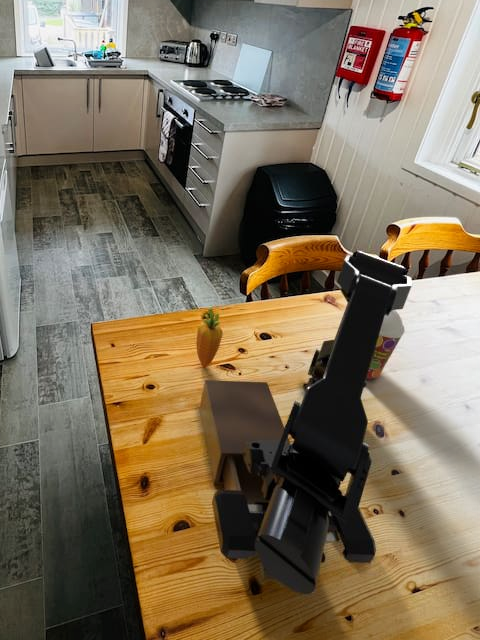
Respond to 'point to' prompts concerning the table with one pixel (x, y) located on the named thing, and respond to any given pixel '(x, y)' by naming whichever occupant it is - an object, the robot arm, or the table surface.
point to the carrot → (208, 338)
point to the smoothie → (386, 343)
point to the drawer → (244, 488)
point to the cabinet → (236, 419)
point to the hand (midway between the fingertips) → (276, 559)
